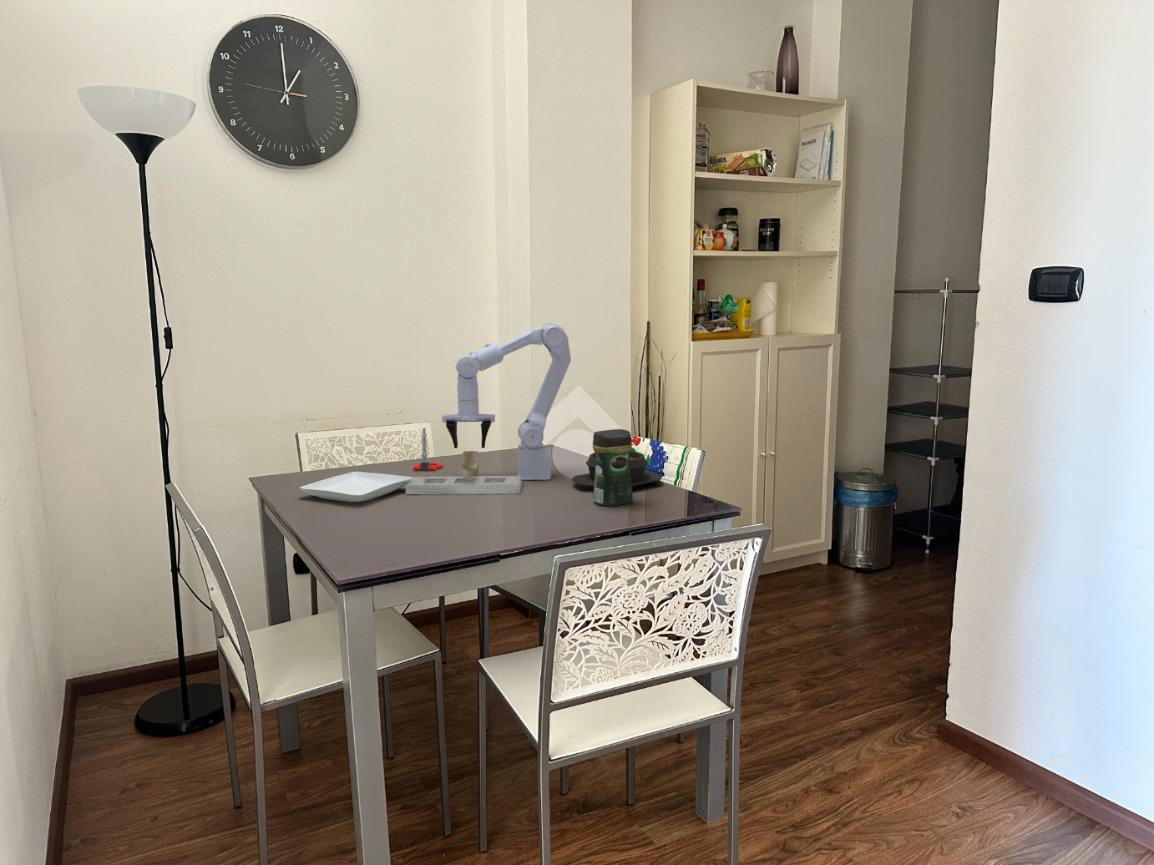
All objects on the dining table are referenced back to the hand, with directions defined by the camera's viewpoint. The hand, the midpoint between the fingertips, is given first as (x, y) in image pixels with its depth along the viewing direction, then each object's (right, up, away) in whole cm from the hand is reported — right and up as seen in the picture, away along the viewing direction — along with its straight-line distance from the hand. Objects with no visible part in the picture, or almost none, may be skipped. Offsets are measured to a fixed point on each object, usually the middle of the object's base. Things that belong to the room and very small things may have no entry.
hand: (469, 447), depth 230 cm
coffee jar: (+39, -14, -24) cm, 48 cm away
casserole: (+41, -10, -5) cm, 43 cm away
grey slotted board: (0, -11, -9) cm, 14 cm away
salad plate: (-28, -12, -13) cm, 33 cm away
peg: (0, -9, +2) cm, 9 cm away
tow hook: (-15, -7, +19) cm, 25 cm away
